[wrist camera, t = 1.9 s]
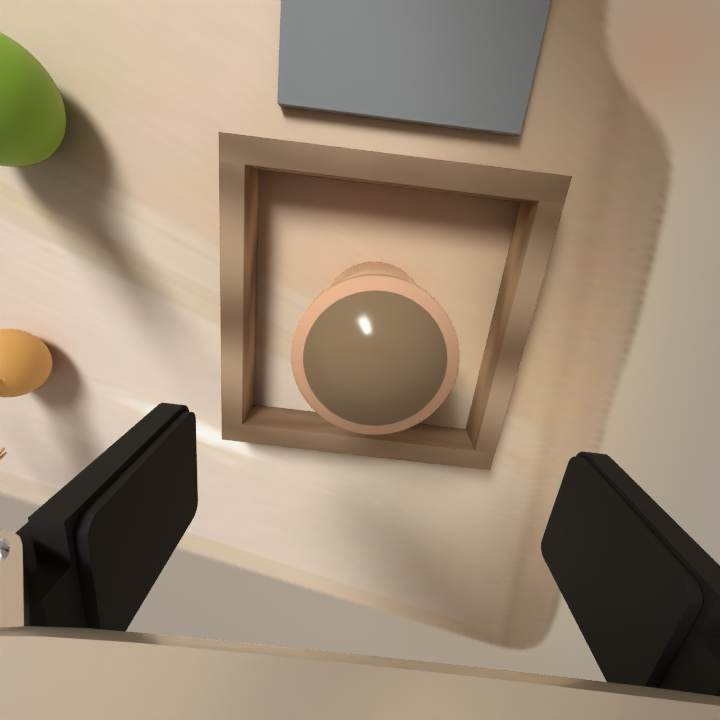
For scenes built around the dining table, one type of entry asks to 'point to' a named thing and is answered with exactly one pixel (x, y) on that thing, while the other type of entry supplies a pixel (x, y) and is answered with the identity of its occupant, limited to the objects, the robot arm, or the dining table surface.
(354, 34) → the grey mat
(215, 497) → the dining table surface
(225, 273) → the frame
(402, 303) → the terracotta pot
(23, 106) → the snail figurine
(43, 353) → the figurine
